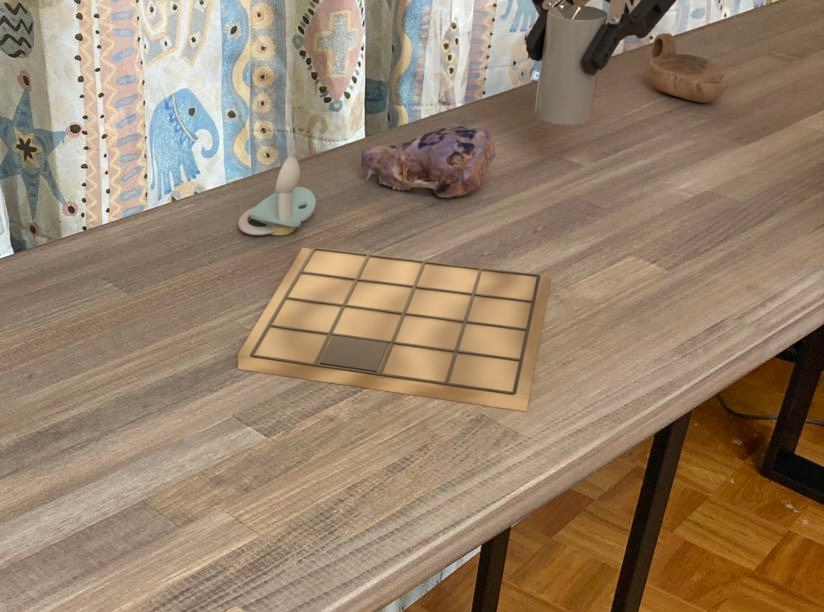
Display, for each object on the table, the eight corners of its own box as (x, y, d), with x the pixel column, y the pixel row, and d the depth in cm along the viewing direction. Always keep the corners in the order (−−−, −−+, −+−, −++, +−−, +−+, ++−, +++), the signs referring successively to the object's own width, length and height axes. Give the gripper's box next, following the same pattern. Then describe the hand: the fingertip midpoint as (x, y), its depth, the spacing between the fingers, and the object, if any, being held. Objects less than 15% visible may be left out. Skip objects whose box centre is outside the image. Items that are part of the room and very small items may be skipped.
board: (549, 291, 88) (552, 276, 87) (526, 413, 74) (529, 395, 74) (302, 260, 92) (302, 245, 91) (237, 370, 78) (236, 353, 77)
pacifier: (225, 238, 96) (290, 248, 94) (221, 165, 92) (289, 174, 90) (259, 207, 101) (322, 215, 99) (257, 136, 97) (322, 144, 95)
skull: (348, 184, 103) (358, 114, 100) (374, 167, 110) (384, 101, 106) (475, 211, 100) (489, 140, 97) (494, 193, 106) (508, 125, 103)
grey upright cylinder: (592, 109, 106) (609, 7, 100) (589, 127, 102) (606, 22, 97) (536, 104, 107) (550, 3, 102) (531, 122, 103) (545, 18, 98)
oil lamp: (739, 109, 122) (751, 61, 119) (676, 113, 121) (687, 65, 118) (681, 73, 132) (691, 28, 129) (622, 76, 131) (631, 31, 128)
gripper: (576, -148, 100) (479, 21, 101) (725, -129, 92) (618, 54, 93) (599, -89, 107) (507, 70, 108) (740, -66, 99) (639, 104, 100)
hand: (559, 61), depth 100 cm, fingers closed on grey upright cylinder, 5 cm apart
